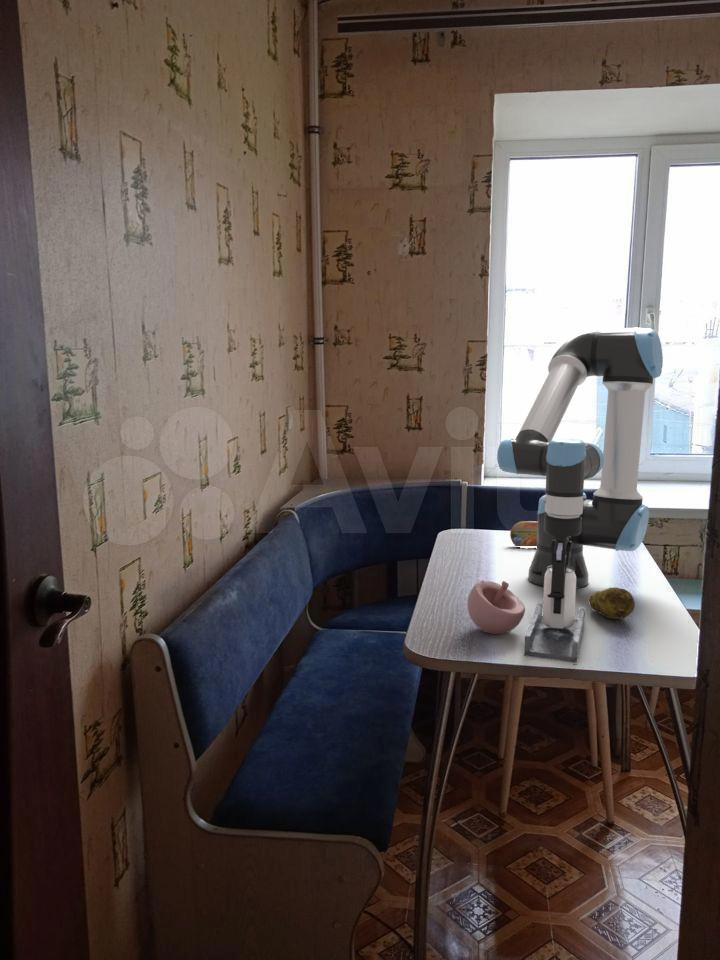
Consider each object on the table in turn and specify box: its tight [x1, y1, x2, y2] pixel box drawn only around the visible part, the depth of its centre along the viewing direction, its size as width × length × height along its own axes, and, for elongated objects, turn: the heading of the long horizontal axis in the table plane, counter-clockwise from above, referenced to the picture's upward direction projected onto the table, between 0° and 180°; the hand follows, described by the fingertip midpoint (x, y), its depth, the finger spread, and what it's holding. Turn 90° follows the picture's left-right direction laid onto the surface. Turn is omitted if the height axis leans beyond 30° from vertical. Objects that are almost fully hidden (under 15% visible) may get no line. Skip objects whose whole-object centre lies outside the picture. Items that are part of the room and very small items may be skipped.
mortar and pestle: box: [466, 580, 526, 635], centre depth 161 cm, size 12×12×12 cm
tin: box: [509, 520, 538, 547], centre depth 233 cm, size 15×3×8 cm, turn 88°
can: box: [542, 565, 577, 629], centre depth 160 cm, size 6×6×12 cm
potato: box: [588, 587, 636, 620], centre depth 170 cm, size 8×13×8 cm, turn 174°
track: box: [523, 601, 586, 663], centre depth 158 cm, size 22×10×4 cm, turn 160°
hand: (558, 621), depth 161 cm, fingers closed on can, 6 cm apart
